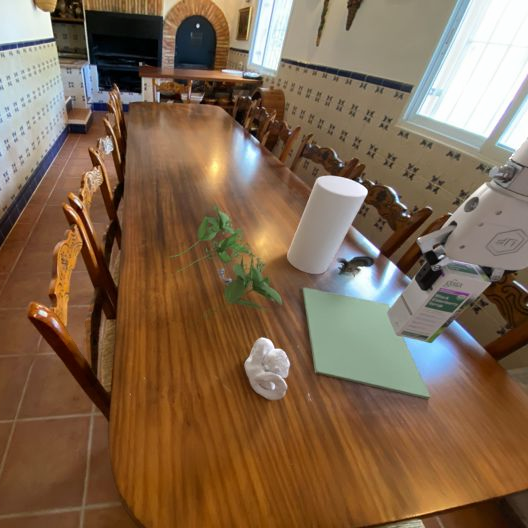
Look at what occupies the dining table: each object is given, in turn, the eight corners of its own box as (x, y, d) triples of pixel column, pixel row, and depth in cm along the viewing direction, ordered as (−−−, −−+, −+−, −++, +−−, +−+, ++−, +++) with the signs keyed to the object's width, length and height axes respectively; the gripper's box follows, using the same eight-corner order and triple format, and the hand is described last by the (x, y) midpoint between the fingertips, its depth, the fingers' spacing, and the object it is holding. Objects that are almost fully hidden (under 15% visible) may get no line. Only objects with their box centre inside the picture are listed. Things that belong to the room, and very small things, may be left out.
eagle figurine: (357, 284, 83) (378, 270, 86) (352, 261, 81) (373, 248, 84) (333, 279, 90) (353, 267, 93) (328, 258, 89) (349, 246, 91)
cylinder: (291, 244, 98) (320, 171, 82) (331, 257, 94) (369, 183, 78) (282, 263, 90) (312, 187, 74) (325, 279, 86) (366, 201, 70)
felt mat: (386, 305, 79) (388, 303, 78) (428, 399, 59) (430, 397, 59) (302, 289, 82) (303, 287, 81) (315, 373, 62) (316, 371, 61)
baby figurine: (252, 342, 67) (284, 328, 62) (275, 397, 62) (311, 387, 57) (229, 346, 61) (262, 331, 56) (252, 407, 56) (291, 397, 51)
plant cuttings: (216, 367, 69) (304, 321, 64) (177, 337, 58) (279, 279, 53) (183, 269, 95) (243, 231, 90) (152, 236, 84) (218, 191, 79)
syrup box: (395, 336, 52) (450, 274, 42) (385, 311, 56) (433, 250, 47) (431, 344, 51) (495, 283, 42) (418, 318, 55) (473, 258, 46)
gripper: (476, 183, 34) (392, 294, 45) (652, 209, 32) (517, 318, 43) (445, 161, 40) (377, 264, 51) (593, 181, 37) (487, 284, 49)
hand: (442, 288), depth 47 cm, fingers closed on syrup box, 5 cm apart
